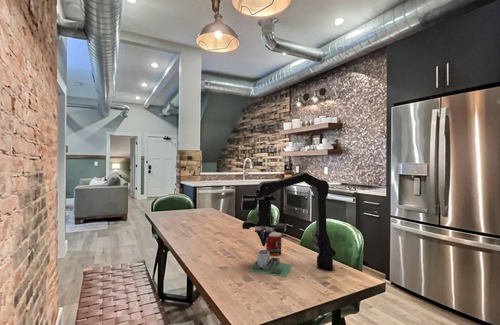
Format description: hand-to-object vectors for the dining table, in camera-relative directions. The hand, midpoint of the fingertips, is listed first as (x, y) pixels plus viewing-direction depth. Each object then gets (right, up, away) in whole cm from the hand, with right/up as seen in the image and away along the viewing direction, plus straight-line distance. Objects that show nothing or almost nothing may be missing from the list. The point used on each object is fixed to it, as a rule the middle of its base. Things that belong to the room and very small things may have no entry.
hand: (263, 245), depth 123 cm
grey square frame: (0, -9, 0) cm, 9 cm away
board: (+3, -10, -1) cm, 11 cm away
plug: (0, -9, 0) cm, 9 cm away
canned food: (+6, -11, +19) cm, 23 cm away
